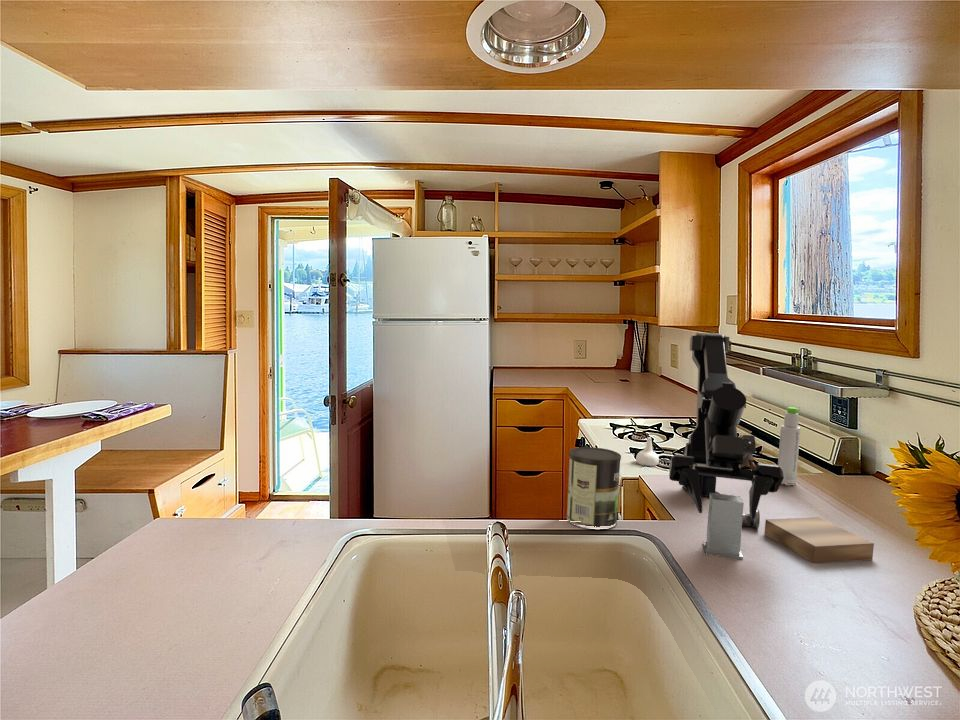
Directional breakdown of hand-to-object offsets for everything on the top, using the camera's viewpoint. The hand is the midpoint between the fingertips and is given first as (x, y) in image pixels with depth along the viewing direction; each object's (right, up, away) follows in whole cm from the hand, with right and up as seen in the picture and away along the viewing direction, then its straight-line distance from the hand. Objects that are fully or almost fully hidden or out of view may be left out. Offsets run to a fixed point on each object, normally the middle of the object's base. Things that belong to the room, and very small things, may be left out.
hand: (726, 515), depth 91 cm
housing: (0, -7, +2) cm, 7 cm away
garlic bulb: (+5, -3, +58) cm, 58 cm away
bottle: (+37, -5, +44) cm, 58 cm away
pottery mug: (+29, -4, +55) cm, 62 cm away
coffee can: (-21, -5, +14) cm, 26 cm away
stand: (+19, -7, +5) cm, 21 cm away
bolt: (+10, -6, +15) cm, 19 cm away
